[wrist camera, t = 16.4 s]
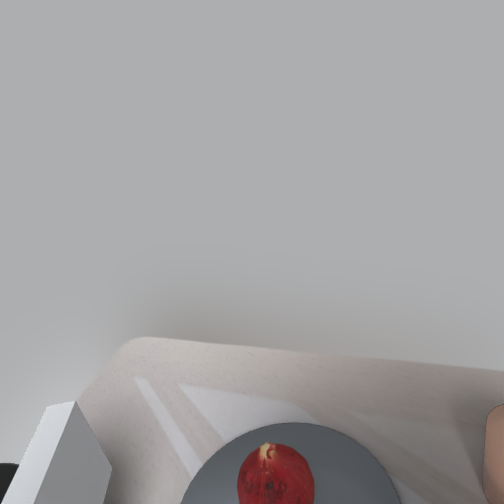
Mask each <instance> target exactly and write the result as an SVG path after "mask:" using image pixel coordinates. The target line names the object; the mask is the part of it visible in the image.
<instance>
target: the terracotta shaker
mask: <svg viewBox="0 0 504 504" xmlns="http://www.w3.org/2000/svg"><path fill="white" fill-rule="evenodd" d="M483 490H484V494H485V496H486V498H487V500H488V502H489V503H490V504H504V404H502V405H499V406H497V407H496V408H494V409H493V410H492V411H491V412H490V413H489V415H488V417H487V422H486V439H485V456H484V474H483Z"/></svg>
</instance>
